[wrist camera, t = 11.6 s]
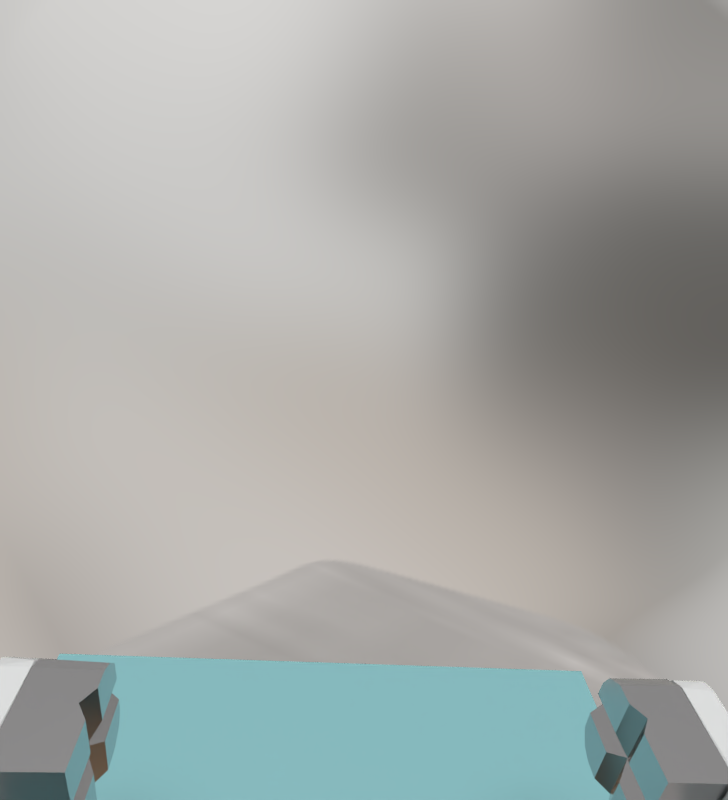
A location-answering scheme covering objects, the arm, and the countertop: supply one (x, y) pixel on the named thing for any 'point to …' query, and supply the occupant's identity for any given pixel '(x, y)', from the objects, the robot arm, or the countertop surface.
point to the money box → (345, 732)
